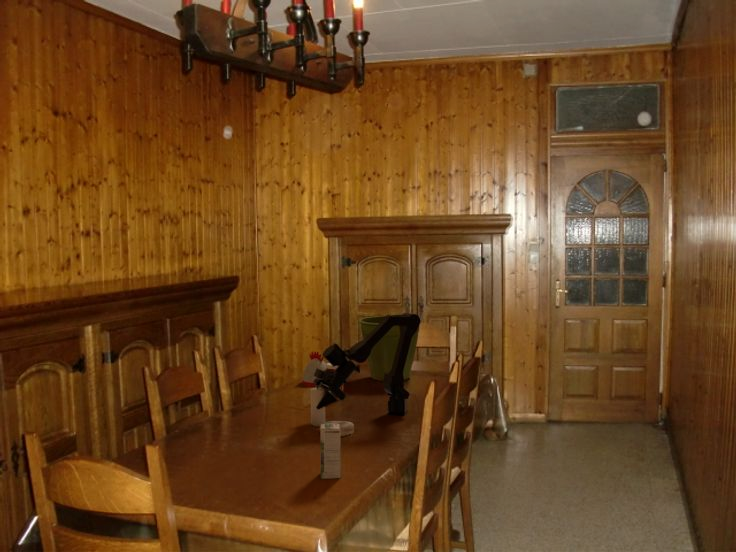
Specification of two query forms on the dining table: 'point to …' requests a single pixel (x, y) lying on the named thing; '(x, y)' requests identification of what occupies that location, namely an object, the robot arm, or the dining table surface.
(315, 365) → the white and red hat
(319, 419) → the candle
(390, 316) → the robot arm
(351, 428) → the base disc
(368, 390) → the dining table surface
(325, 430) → the syrup box
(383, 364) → the plant pot
